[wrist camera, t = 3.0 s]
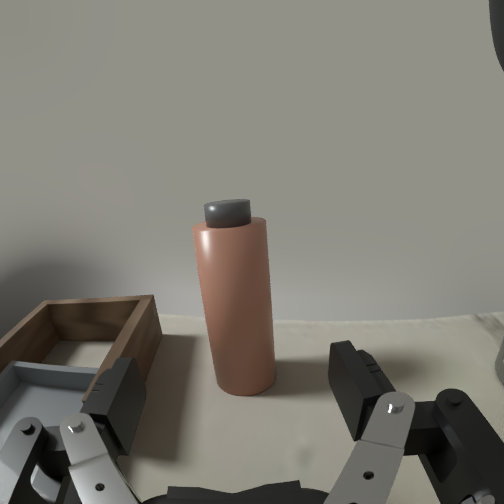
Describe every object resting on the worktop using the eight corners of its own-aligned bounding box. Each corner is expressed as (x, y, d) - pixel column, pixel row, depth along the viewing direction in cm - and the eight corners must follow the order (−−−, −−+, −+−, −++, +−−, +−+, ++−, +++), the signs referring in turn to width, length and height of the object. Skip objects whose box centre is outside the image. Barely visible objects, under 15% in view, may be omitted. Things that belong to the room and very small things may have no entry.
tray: (141, 395, 22) (119, 331, 21) (96, 554, 8) (30, 503, 6) (11, 382, 22) (-13, 328, 20) (-56, 477, 7) (-103, 417, 5)
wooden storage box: (162, 333, 33) (153, 294, 32) (122, 449, 17) (96, 401, 15) (56, 335, 33) (44, 300, 31) (-12, 418, 16) (-37, 376, 15)
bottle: (272, 356, 28) (260, 195, 24) (279, 392, 23) (268, 203, 19) (217, 362, 28) (194, 202, 24) (215, 398, 23) (184, 211, 19)
